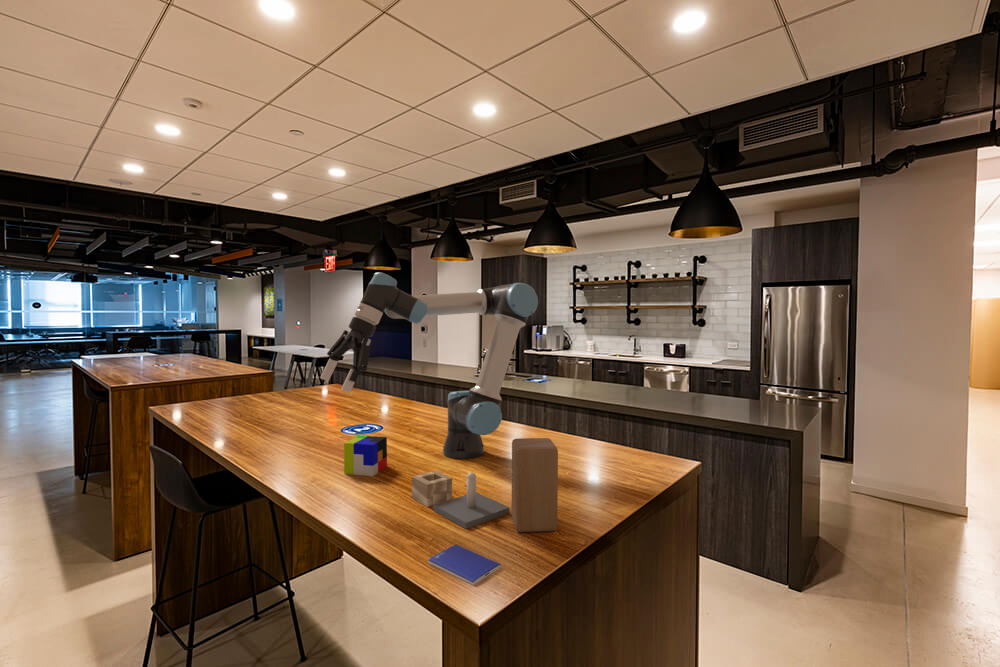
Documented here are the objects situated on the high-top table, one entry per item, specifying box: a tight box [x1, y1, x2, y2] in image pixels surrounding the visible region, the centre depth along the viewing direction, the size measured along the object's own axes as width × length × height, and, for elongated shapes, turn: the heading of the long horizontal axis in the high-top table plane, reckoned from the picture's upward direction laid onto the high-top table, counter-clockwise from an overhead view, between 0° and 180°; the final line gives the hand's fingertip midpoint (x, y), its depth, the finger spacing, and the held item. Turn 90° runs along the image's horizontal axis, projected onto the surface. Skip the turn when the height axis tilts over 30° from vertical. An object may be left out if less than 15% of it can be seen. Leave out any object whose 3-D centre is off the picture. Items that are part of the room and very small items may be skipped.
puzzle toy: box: [343, 434, 388, 477], centre depth 155 cm, size 10×10×10 cm
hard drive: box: [428, 544, 502, 586], centre depth 95 cm, size 2×8×12 cm
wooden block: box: [511, 437, 559, 533], centre depth 114 cm, size 10×10×20 cm
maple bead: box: [411, 470, 453, 508], centre depth 130 cm, size 8×8×6 cm
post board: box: [432, 472, 511, 530], centre depth 121 cm, size 14×14×10 cm
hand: (334, 385), depth 140 cm, fingers open, 13 cm apart
